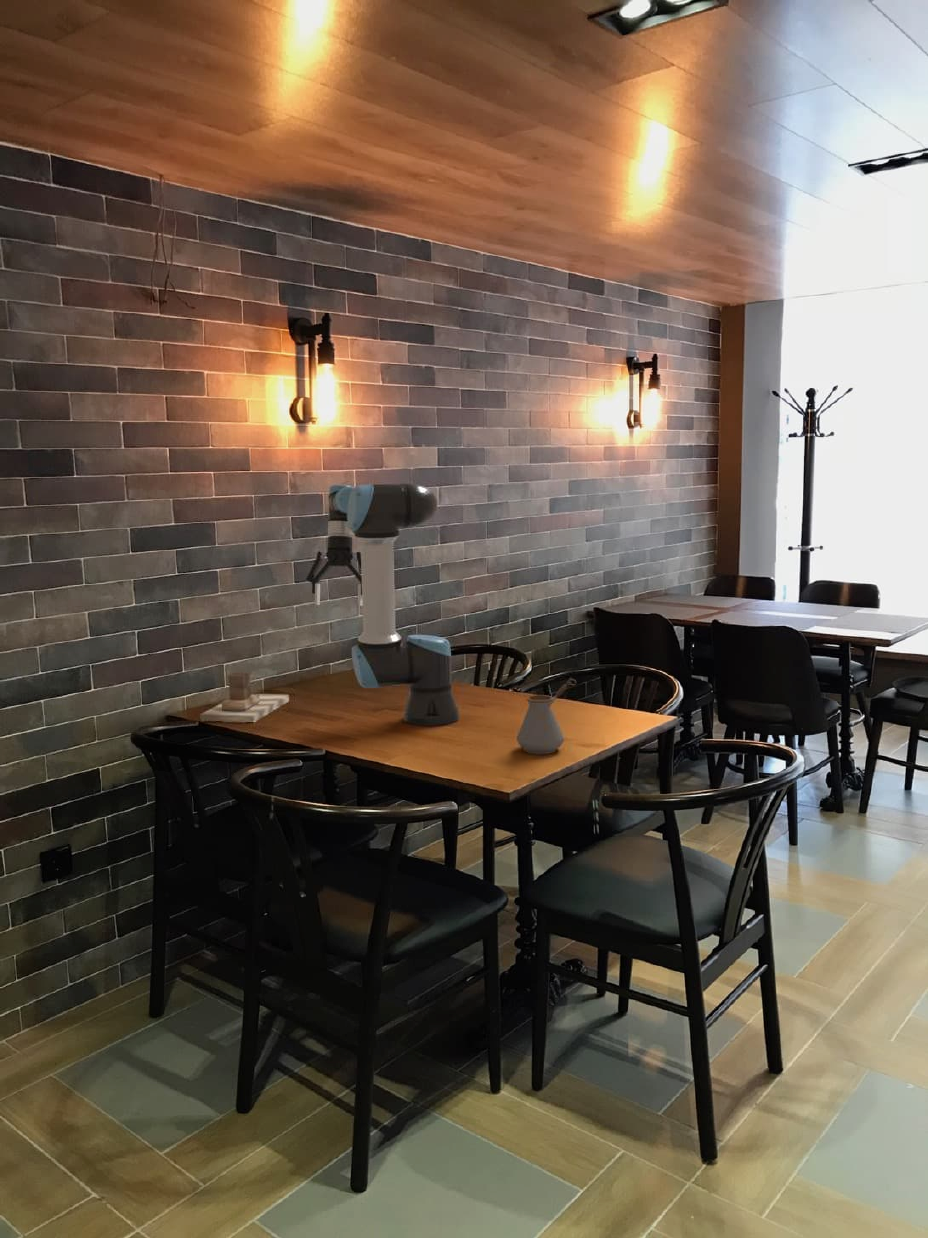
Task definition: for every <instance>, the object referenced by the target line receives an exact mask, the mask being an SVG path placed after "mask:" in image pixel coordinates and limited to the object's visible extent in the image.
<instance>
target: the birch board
mask: <svg viewBox="0 0 928 1238" xmlns="http://www.w3.org/2000/svg"><path fill="white" fill-rule="evenodd" d="M258 694H259V699H260V702H259V703H258V704H256V705H254V706H253V707H251V708H250V709H248V710H247V711H222V702H221V703H219V704H217V705H215V706H214V707H212V708H210V709H208V710H206V711H204V712H202V713H201V714H200V716H199V717H200V719H199V720H200V722H203V721H206V720H207V721H208V720H210V721H223V722H222V723H246V722H254V723H256V722H257V721H259V720H261V719H262V718H264V717H265V716H267V715H269V714H271V713H272V712H274V711H276V710H277V709H278V708H280V707H282V706H284V705H285V704H286V703H288V702H290V695H289V694H276V693H273V694H272V693H270V694H269V693H258ZM281 705H282V706H281ZM273 710H274V711H273Z"/></svg>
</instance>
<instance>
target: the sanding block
mask: <svg viewBox="0 0 928 1238" xmlns="http://www.w3.org/2000/svg"><path fill="white" fill-rule="evenodd" d="M227 678H228V689H229V697H228V698H226V699H225V700H223V701H221V703H222V711H247V710H248V709H250V708H251V707H253V706H254V705H256V704H258V703H259V702H260V699H259V694H260V693H252V690H251V688H252V687H251V686H252V685H251V673H250V672H234V673H231V674H230V675H228V677H227Z"/></svg>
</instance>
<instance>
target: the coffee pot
mask: <svg viewBox="0 0 928 1238" xmlns="http://www.w3.org/2000/svg"><path fill="white" fill-rule="evenodd" d="M572 681H574V682H575V683H574V684H573V683H572ZM576 683H577V681H576V680H575V679H573V677H570V678H569V679H568V680H567V681H565V683H564V684H563V685H562V686H561V687H560V688H559V689H558V690H557V692H556V693H555V694H554V695H553V696H550V695H546V694H535V695H530V696H527V697H526V698H525V699H526V701H528V709H527V711H526V712H525V713H526V714H525V717H524V718H523V721H522V723H521V726H520V728H519V731H518V732H517V733H518V734H517V736H516V741H517V743H518V745H519V746H520V747H521V748H522V749H523V750H524V751H525V752H526V753H529V754H535V755H545V754H552V753H554V752H556V751H557V749H558V748H560V747H561V746H562V744H563V743H564V741H565V736H564V734H563V732H562V728H561V727H560V724H559V723H558V719H556V716H555V713H554V711H553V709H552V707H551V706H552V705H553V703H554V702H555V701H556V700H557V699H558V698H559V697H560V696H561V695H562V694H563V693H564V692H565V691H566V689H567V687H569V686H570V685H572V686H574V685H576Z"/></svg>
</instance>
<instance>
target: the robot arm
mask: <svg viewBox="0 0 928 1238" xmlns="http://www.w3.org/2000/svg"><path fill="white" fill-rule="evenodd" d="M327 497H328V519H327V520H328V523H327V534H328V537H327V550H326V552H323V551H317V552H316V553H317V554H316V559H315V561H314V563H313V564H312V566H311V568H310V571H309V572H308V574H307V576H306V579H305V580H306V581H307V582H309V583H311V593H312V595H314V605H315V606H320V605H321V601H320V600H321V583H319V582H320V581H321V579H323V577H324V576H325V575H326V574H327V572H328V571H329V570H331V568H332V567H345V568H346V567H347V568H348V569H349V570H350V572H351V573H352V574H353V575H354V576H355V578H356V579H357V581H359V583H358V585H357V587H358V588H357V606H359V607H362V626H363V627H362V633H361V634H359V636H358V637H357V644H355V645H354V646H352V647H351V659H352V665H353V670H354V674H355V677H356V680H357V682H358V683H359V685H360V686H361V687H363V688H364V689H374V688H375V689H380V688H385V687H394V686H395V687H396V686H397V687H398V686H406V685H409V688H408V689H409V693H408V698H407V700H406V701H407V702H406V707H405V709H404V712H403V719H404V720H403V721H404V723H406V724H409V725H414V726H425V727H426V726H428V727H435V726H442V725H448V724H449V725H450V724H452V723H455V722H457V721H458V720H459V719H460V710H459V708H458V706H457V703H456V700H455V696H454V694H453V690H452V689H453V687H452V685H453V684H452V658H451V657H452V653H451V644H450V642H449V640H448V639H447V638H444V637H441V636H436V635H430V634H409V635H408V636H407V638H406V641H402V636H401V635H400V633H398V632H397V631H396V596H395V594H396V593H395V592H396V591H395V553H394V552H395V551H394V549H395V548H394V543H395V541H396V540H397V539H398V538H399V537H400V529H409V528H410V529H411V528H415V527H419V526H422V525H424V524H426V523H428V522H429V521H430V520H431V519H433V517H434V516H435V514H436V512H437V510H438V499H437V496H436V495H435V493H434V491H432V490H431V489H430V488H429V487H427V486H424V485H421V484H417V483H411V482H409V483H408V482H407V483H381V484H380V483H377V484H376V483H375V484H373V483H369V484H361V485H356V486H355V487H354V486H351V485H349V484H348V485H347V484H334V485H331V486H330V487H329V490H328V495H327ZM353 532H354V538H355V539H356V540H357V541H358V542H359V543H360V551H356V552H353V537H352V536H353ZM325 558H327V560H328V561H326V563H325V564H324V566H323V567H322V568H321V569H320V566H321V564H322V562H323V560H324V559H325ZM352 559H355V560H356V561H357V562H358V563H357V564H358V565H359V568H360V569H361V570H360V571H361V573H360V571H359V570H358V569H357V568H356V567H355V565H354V564H353V562H352ZM319 569H320V570H319ZM318 570H319V572H318ZM317 572H318V573H317ZM316 573H317V574H316Z"/></svg>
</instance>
